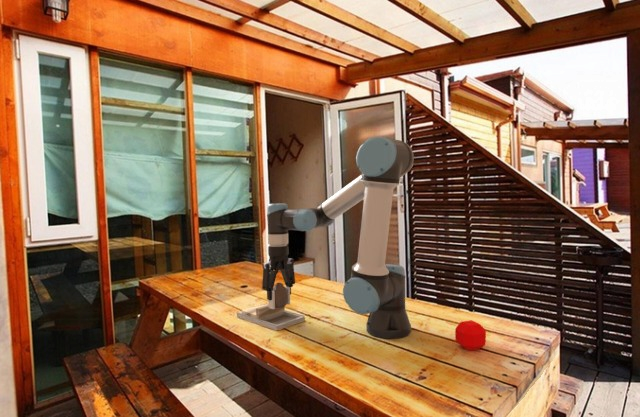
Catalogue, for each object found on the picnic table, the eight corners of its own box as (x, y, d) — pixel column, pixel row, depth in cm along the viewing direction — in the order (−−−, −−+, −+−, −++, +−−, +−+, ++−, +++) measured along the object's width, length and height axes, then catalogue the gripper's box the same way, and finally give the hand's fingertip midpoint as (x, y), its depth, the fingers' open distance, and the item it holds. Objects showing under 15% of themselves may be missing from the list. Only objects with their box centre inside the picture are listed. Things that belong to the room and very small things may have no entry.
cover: (284, 311, 155) (284, 301, 155) (259, 319, 146) (258, 309, 146) (266, 306, 163) (266, 297, 163) (241, 313, 154) (241, 303, 154)
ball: (490, 350, 117) (490, 325, 117) (467, 354, 115) (467, 328, 115) (473, 341, 125) (472, 317, 125) (451, 344, 123) (451, 320, 123)
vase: (291, 304, 150) (290, 281, 150) (285, 309, 143) (285, 285, 143) (273, 303, 152) (273, 281, 151) (267, 309, 145) (267, 285, 144)
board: (304, 320, 149) (304, 315, 148) (276, 330, 138) (276, 325, 138) (264, 308, 165) (264, 304, 165) (236, 316, 155) (236, 312, 155)
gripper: (291, 241, 156) (292, 298, 157) (250, 247, 142) (252, 310, 143) (304, 242, 151) (305, 302, 152) (263, 249, 137) (265, 314, 138)
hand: (279, 305), depth 147 cm, fingers closed on vase, 7 cm apart
